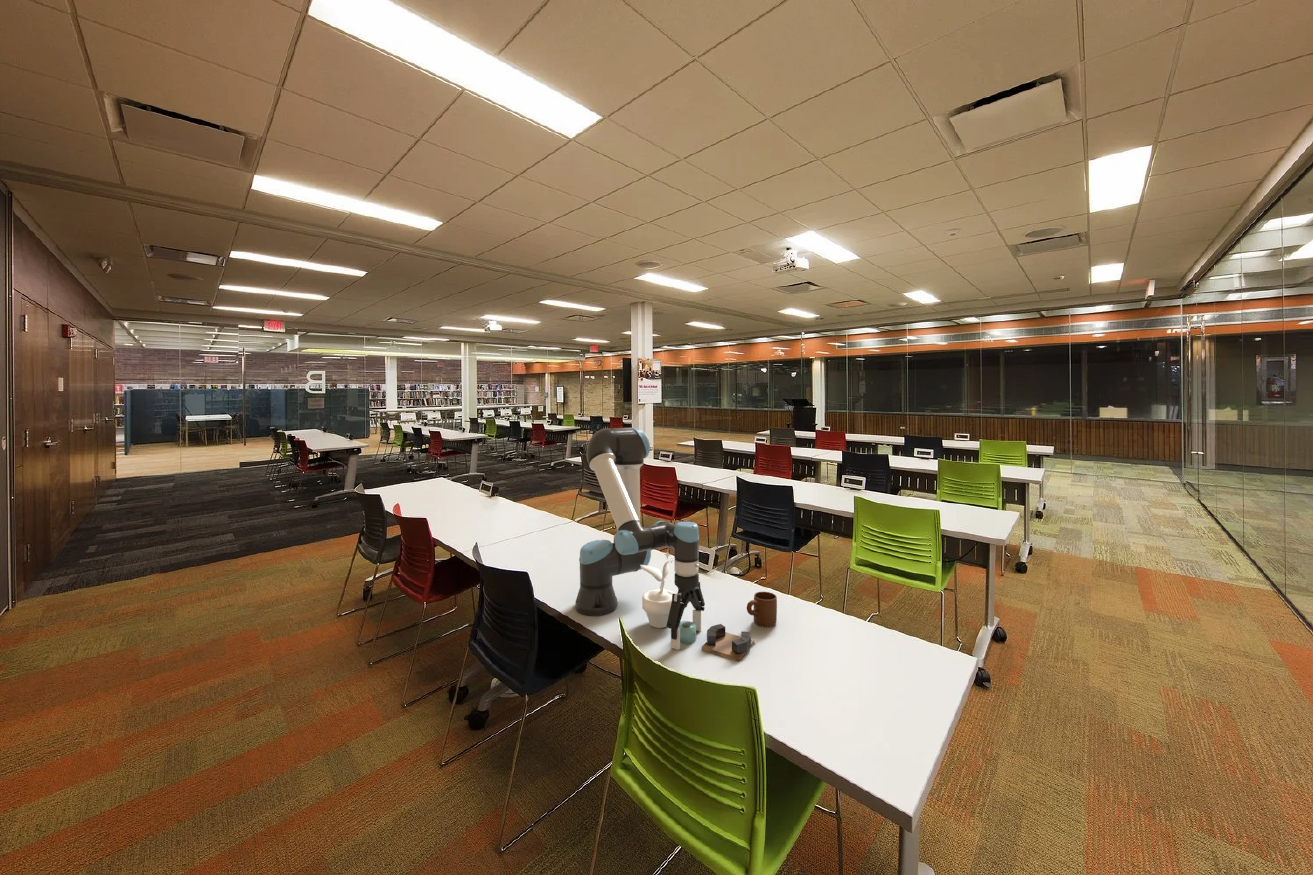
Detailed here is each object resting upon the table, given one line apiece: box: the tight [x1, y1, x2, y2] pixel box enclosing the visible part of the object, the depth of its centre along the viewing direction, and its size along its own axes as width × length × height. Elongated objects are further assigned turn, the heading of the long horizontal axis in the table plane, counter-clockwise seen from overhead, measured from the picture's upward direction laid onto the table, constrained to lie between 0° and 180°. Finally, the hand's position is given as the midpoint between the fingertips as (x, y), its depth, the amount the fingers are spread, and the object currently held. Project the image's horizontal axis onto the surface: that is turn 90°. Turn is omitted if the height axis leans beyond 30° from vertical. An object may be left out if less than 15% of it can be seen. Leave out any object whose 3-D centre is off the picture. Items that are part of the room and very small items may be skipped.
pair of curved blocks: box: [706, 623, 752, 655], centre depth 143 cm, size 13×9×3 cm
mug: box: [746, 591, 778, 628], centre depth 157 cm, size 12×8×9 cm, turn 123°
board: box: [701, 631, 756, 662], centre depth 143 cm, size 12×12×1 cm
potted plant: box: [640, 549, 676, 629], centre depth 157 cm, size 13×12×25 cm
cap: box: [678, 620, 697, 645], centre depth 148 cm, size 6×6×5 cm
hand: (686, 639), depth 148 cm, fingers open, 13 cm apart
